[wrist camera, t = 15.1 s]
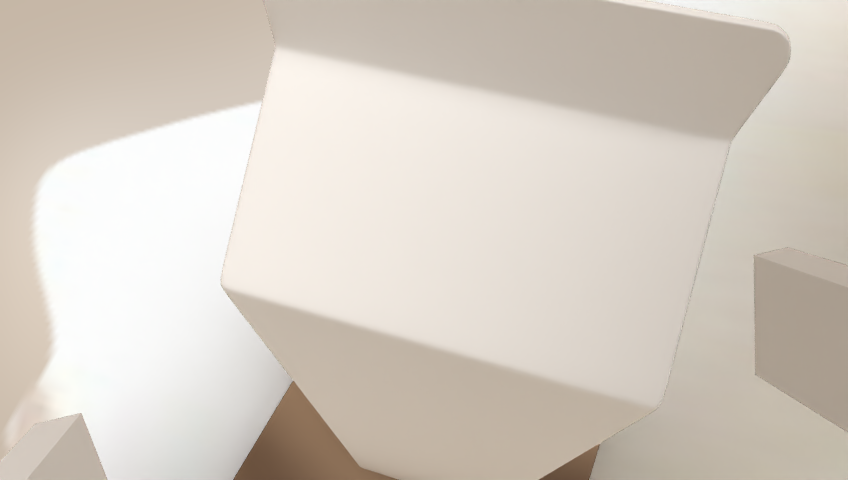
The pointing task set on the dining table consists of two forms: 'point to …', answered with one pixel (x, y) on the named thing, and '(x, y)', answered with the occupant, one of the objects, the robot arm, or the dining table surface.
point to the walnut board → (333, 449)
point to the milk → (486, 217)
